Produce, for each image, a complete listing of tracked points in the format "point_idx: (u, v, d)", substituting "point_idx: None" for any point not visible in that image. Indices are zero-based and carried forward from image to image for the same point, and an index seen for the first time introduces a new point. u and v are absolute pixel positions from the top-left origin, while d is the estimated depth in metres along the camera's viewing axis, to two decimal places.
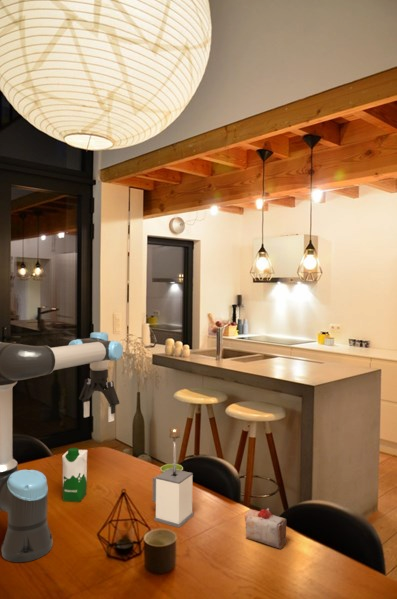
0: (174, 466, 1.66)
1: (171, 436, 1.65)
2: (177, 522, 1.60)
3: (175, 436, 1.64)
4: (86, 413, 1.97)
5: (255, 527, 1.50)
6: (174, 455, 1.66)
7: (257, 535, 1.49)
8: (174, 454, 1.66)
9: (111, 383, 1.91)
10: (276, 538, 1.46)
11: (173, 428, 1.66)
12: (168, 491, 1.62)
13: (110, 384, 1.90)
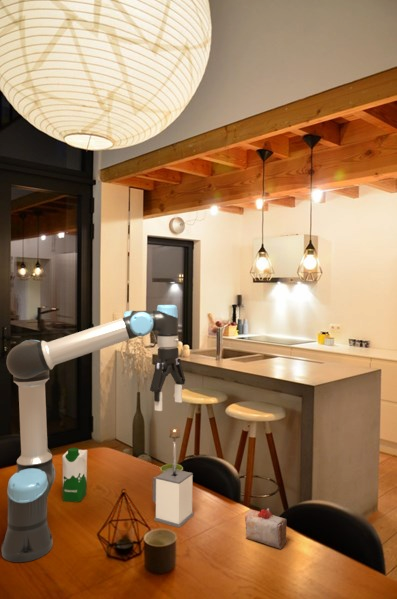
0: (174, 466, 1.66)
1: (171, 436, 1.65)
2: (177, 522, 1.60)
3: (175, 436, 1.64)
4: (176, 397, 1.72)
5: (255, 527, 1.50)
6: (174, 455, 1.66)
7: (257, 535, 1.49)
8: (174, 454, 1.66)
9: (157, 365, 1.60)
10: (276, 538, 1.46)
11: (173, 428, 1.66)
12: (168, 491, 1.62)
13: (156, 366, 1.60)
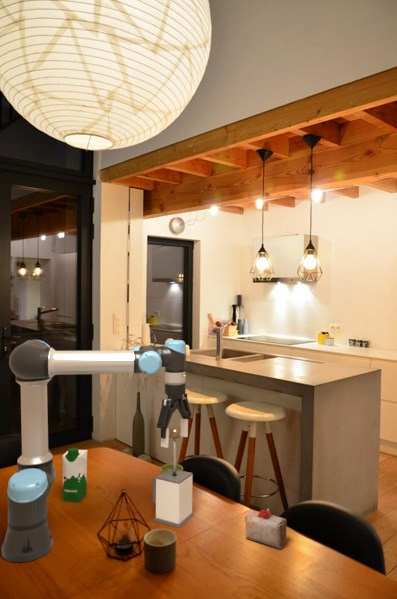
0: (174, 466, 1.66)
1: (171, 436, 1.65)
2: (177, 522, 1.60)
3: (175, 436, 1.64)
4: (182, 432, 1.72)
5: (255, 527, 1.50)
6: (174, 455, 1.66)
7: (257, 535, 1.49)
8: (174, 454, 1.66)
9: (164, 401, 1.60)
10: (276, 538, 1.46)
11: (173, 428, 1.66)
12: (168, 491, 1.62)
13: (163, 402, 1.60)
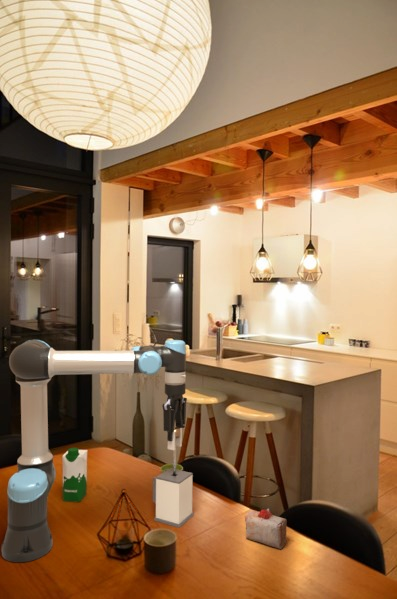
0: (174, 466, 1.66)
1: None
2: (177, 522, 1.60)
3: (175, 436, 1.64)
4: (176, 441, 1.68)
5: (255, 527, 1.50)
6: (174, 455, 1.66)
7: (257, 535, 1.49)
8: (174, 454, 1.66)
9: (165, 407, 1.60)
10: (277, 538, 1.46)
11: None
12: (168, 491, 1.62)
13: (164, 407, 1.61)
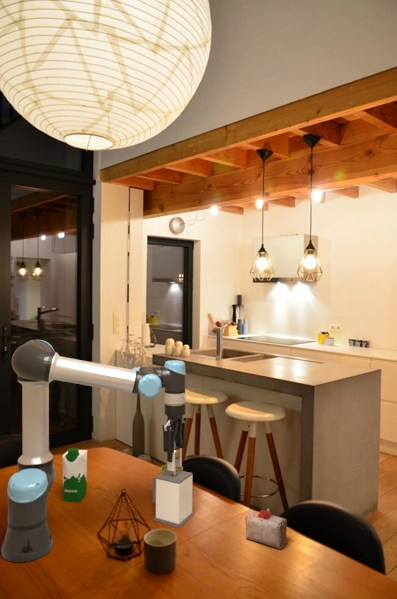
0: None
1: None
2: (177, 522, 1.60)
3: (175, 457, 1.64)
4: (176, 461, 1.68)
5: (255, 527, 1.50)
6: None
7: (258, 535, 1.49)
8: (174, 475, 1.66)
9: (165, 428, 1.60)
10: (277, 538, 1.46)
11: None
12: (168, 491, 1.62)
13: (163, 428, 1.61)
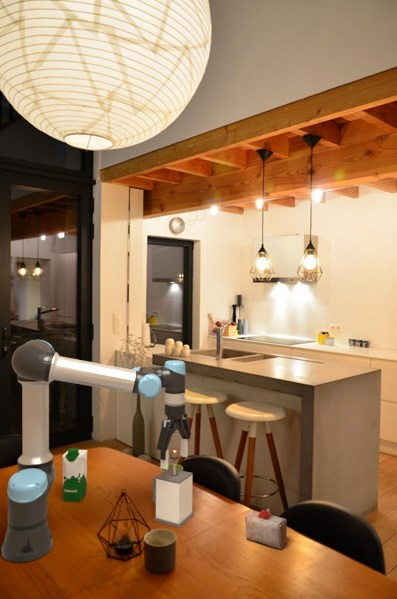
0: None
1: (171, 457, 1.65)
2: (177, 522, 1.60)
3: (175, 457, 1.64)
4: (182, 452, 1.72)
5: (255, 528, 1.49)
6: None
7: (258, 535, 1.49)
8: (174, 475, 1.66)
9: (164, 423, 1.60)
10: (277, 538, 1.46)
11: (173, 449, 1.66)
12: (168, 491, 1.62)
13: (163, 424, 1.60)
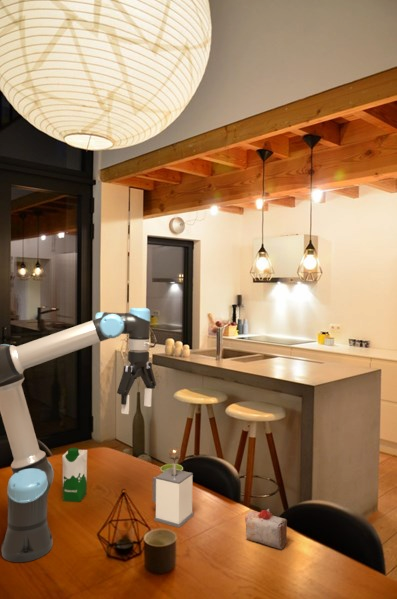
0: None
1: (171, 457, 1.65)
2: (177, 522, 1.60)
3: (175, 457, 1.64)
4: (146, 401, 1.71)
5: (256, 528, 1.49)
6: None
7: (258, 536, 1.49)
8: (174, 475, 1.66)
9: (126, 368, 1.59)
10: (277, 539, 1.46)
11: (173, 449, 1.66)
12: (168, 491, 1.62)
13: (125, 368, 1.59)
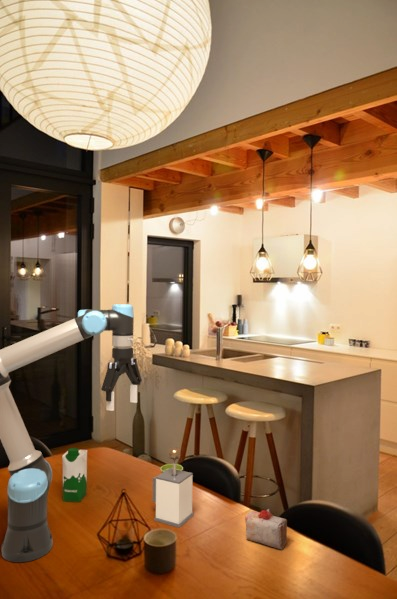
0: None
1: (171, 457, 1.65)
2: (177, 522, 1.60)
3: (175, 457, 1.64)
4: (132, 398, 1.71)
5: (256, 528, 1.49)
6: None
7: (258, 536, 1.49)
8: (174, 475, 1.66)
9: (110, 364, 1.59)
10: (277, 539, 1.46)
11: (173, 449, 1.66)
12: (168, 491, 1.62)
13: (108, 365, 1.59)
